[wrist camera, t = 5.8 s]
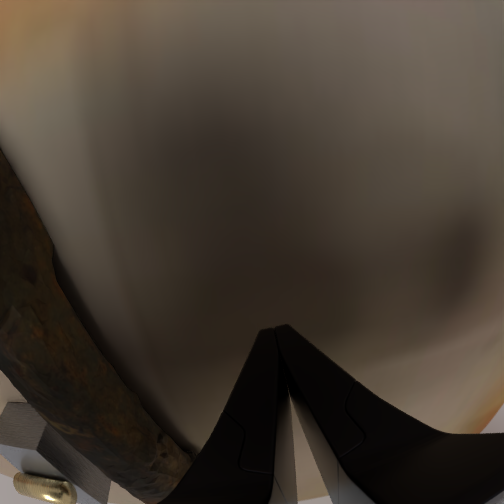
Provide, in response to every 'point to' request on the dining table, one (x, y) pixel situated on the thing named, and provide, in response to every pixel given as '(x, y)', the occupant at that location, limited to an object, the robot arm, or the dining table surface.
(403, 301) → the dining table surface
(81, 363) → the hand tool
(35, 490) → the end link
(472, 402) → the dining table surface
